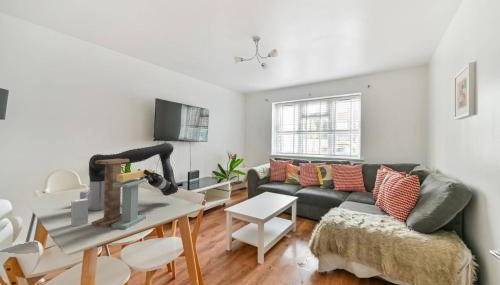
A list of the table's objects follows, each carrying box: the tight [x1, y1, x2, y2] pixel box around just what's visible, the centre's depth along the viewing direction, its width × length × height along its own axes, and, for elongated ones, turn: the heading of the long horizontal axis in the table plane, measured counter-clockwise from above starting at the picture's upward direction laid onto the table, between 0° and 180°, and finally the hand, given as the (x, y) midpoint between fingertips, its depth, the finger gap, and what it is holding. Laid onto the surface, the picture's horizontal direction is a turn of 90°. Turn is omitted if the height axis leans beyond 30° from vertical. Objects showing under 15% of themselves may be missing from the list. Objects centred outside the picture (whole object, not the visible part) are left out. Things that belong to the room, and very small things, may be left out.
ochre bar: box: [116, 168, 153, 182], centre depth 109 cm, size 4×22×3 cm, turn 170°
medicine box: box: [79, 189, 90, 200], centre depth 134 cm, size 8×4×9 cm, turn 168°
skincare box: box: [70, 198, 89, 227], centre depth 102 cm, size 6×4×12 cm
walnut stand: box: [90, 159, 129, 228], centre depth 107 cm, size 10×14×32 cm
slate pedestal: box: [111, 178, 148, 230], centre depth 105 cm, size 8×14×21 cm, turn 170°
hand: (141, 171), depth 113 cm, fingers closed on ochre bar, 3 cm apart
